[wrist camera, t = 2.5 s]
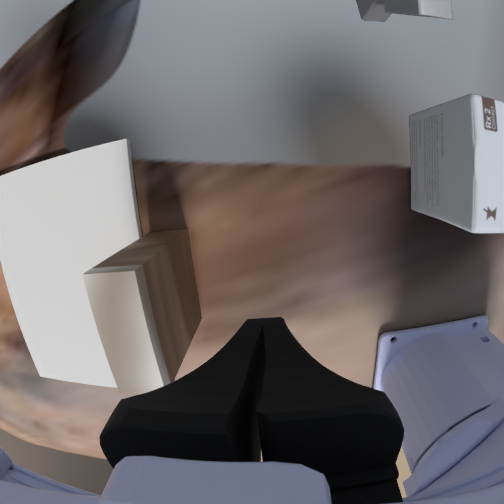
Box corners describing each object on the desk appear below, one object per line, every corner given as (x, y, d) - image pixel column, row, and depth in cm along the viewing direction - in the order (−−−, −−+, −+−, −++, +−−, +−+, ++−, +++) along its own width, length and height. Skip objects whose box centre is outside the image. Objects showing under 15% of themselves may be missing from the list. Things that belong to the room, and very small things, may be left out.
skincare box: (481, 212, 18) (553, 236, 11) (407, 209, 18) (472, 236, 11) (481, 123, 16) (554, 117, 9) (406, 112, 16) (471, 91, 9)
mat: (129, 138, 18) (126, 138, 17) (176, 388, 23) (174, 392, 22) (-10, 180, 19) (-13, 181, 19) (42, 373, 24) (40, 376, 23)
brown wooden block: (187, 228, 19) (134, 271, 12) (201, 318, 21) (167, 396, 13) (149, 232, 19) (82, 274, 12) (166, 319, 21) (119, 392, 13)
